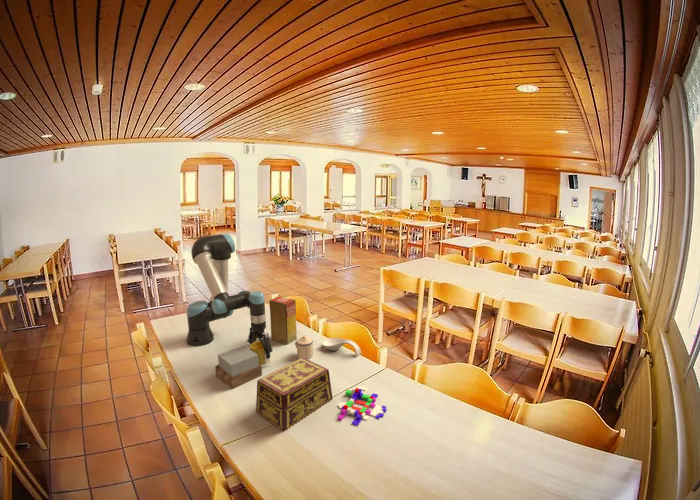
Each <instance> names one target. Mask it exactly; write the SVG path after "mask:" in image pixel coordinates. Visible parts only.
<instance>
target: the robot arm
mask: <svg viewBox="0 0 700 500" xmlns="http://www.w3.org/2000/svg"><path fill="white" fill-rule="evenodd" d="M235 244H236V243H235V240H234V239H233V237H232V236H231V235H230V234H228V233H220V234H214V235H207V236H206V235H204V236H201V237H198V238H197V239H196V240H194V243H193V244H192V247H191V258H192V260H193V262H194V264H195V265H197V266H198V269H199V271H200V273H201V275H202V277H203V280H204V281H205V283H206V286H207V288H208V289H209V292H210V295H211V296H210V301H206V300H198V301H193V302H192V303H191V304H189V305H187V307H186V318H187V326H188V328H187V329H188V331H187V336H186V344H187V346H190V347H201V346H205V345H207V344H211V343H212V342H213V341H214V339H215V338H214V336H215V335H214V333H213V331H212V329H211V326H210V323H211V322H214V321H218V320H222V319H226V318H228V317H230V316H232V315H233V313H234V311H235V310H239V309H243V308H247V309H249V314H250V327H249V332H248V333H249V334H248V339H247V342H248V343H249V346H250V345H251V344H252V343H254V342H257V339H258V341H261V343H262V346H263V348H264V350H265V353H264V356H265V364H264V365H266V366H267V365H268V364H269V365H270V364H271V353H272V352H273V348H272V343H271V341H270V337H269V333H268V332H266V331H265V329H266V328H267V323H266V320H267V319H266V306H265V303H266V302H265V294H264V292H263V291H258V290H257V291H256V290H255V291H249V290H243V289H242V290H241V291H239V292H238V293H237V294H233V295H230V294H229V260H230V259H231V258H232V254H234V253H235V251H236V245H235Z"/></svg>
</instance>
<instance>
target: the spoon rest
mask: <svg viewBox="0 0 700 500" xmlns="http://www.w3.org/2000/svg"><path fill="white" fill-rule="evenodd" d="M321 345H322V346H323V348H325V349H327V350H329V351H337V350H339V349H340V348H341V347H342V346H344V345H349V346H351V347H353V349H354V353H355V357H356V358H357V357H359V356H360V355H361V354H362V350H361V347H360V346H359V345H358V344H357V343H356V342H355V341H354V340H351V339H347V338H346V339H345V338H340V337H329V338H326V339H325V340H323V341H322V343H321Z"/></svg>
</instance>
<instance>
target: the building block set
mask: <svg viewBox="0 0 700 500" xmlns="http://www.w3.org/2000/svg"><path fill="white" fill-rule="evenodd" d="M362 391H363V392H362ZM369 391H370V388H368V387H365V386H361V385H359V386H358V387H354V388H351V389H350V390H349V389H347V390H345V396H346V395H348V396H347V397H350V399H349V400H348V401H347V402H346V401H342V402H341V401H340V402H339V403H338V404H337V407H338V406H339V407H338V409H339V410H340V411H341V413H340V414H339V415H338V416H337V420H338V421H340V420H341V421H340V422H342V421H343V420H344V419H345V418H346V416H347V415H348V414H351V415H350V416H354V417H355V418H354V419H353V421H352V422H351V425H352V424H353V426H356V427H358V426H359V425H360V424H361V422H362V420H364V421H368V420H369V419H370V418H369V417H370V416H371V415H372V416H371V417H374V416H375V417H374V418H375V419H376V418H377V420H380V419H379V418H384V416H385V414H384V413H386V412H387V411H388V410H387V406H386V405H383V404H382V405H379V404H376V400H377V398H378V397H379V394H378V393H374V392H373V393H371V394H370V395H369V394H368V392H369ZM364 400H365V401H364ZM354 403H355V404H356V403H357V404H356V405H359V404H360V405H359V406H363V405H364V406H363V407H359V406H355V404H354ZM372 407H373V408H372ZM370 408H372V410H370ZM365 413H366V414H365ZM346 414H347V415H346ZM367 414H369V415H367ZM345 415H346V416H345ZM361 418H363V419H361ZM342 419H343V420H342ZM359 423H360V424H359Z"/></svg>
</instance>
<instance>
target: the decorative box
mask: <svg viewBox="0 0 700 500" xmlns="http://www.w3.org/2000/svg"><path fill="white" fill-rule="evenodd" d="M256 383H257V385H256V401H255V402H256V403H255V405H256V407H255V413H256V412H257V415H259V416H261V417H262V418H263V417H264V418H263V419H265V420H266V419H267V421H268V422H269V421H270V422H269V423H271V424H272V423H273V424H272V425H274V426H275V425H276V426H275V427H276V428H278V427H279V428H280V430H281V429H282V430H283V432H286V431H287V430H289V429H290V428H292V427H293V426H294V424H295V425H296V424H298V423H299V422H301V421H303V420H304V419H305V418H307V417H308V416H310V415H311V414H313V413H314V412H316V411H317V410H319V409H320V408H322V407H323V406H325V405H326V404H328V403H329V402H330V400H331V401H333V392H332V384H331V377H330V370H329V368H328V367H324V366H323V365H320V364H318V363H315V362H314V361H312V360H310V359H305V358H300V359H299V358H297V360H295V361H291V363H288V364H286V365H284V366H282V367H280V368H278V369H276V370H275V371H272V372H271V373H268V374H267V375H265V376H262V377H261V378H259V379H257V381H256ZM327 402H328V403H327ZM324 404H325V405H324ZM321 406H322V407H321ZM312 412H313V413H312ZM309 414H310V415H309ZM306 416H307V417H306ZM303 418H304V419H303ZM300 420H301V421H300ZM297 422H298V423H297ZM291 426H292V427H291ZM279 428H278V429H279ZM288 428H289V429H288ZM282 430H281V431H282ZM285 430H286V431H285Z"/></svg>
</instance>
